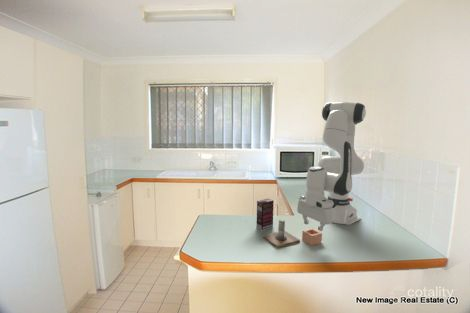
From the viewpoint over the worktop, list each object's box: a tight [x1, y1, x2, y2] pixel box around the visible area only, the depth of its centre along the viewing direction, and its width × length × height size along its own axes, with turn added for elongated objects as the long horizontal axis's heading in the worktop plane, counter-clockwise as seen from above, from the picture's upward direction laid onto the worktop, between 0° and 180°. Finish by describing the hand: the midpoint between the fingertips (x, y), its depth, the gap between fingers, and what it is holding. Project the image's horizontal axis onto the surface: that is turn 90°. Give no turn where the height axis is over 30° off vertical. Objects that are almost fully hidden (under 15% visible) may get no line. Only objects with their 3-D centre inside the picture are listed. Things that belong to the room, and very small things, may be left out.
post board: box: [262, 219, 301, 249], centre depth 135 cm, size 14×12×10 cm
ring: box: [301, 227, 323, 246], centre depth 135 cm, size 7×7×5 cm
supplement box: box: [256, 198, 274, 232], centre depth 149 cm, size 9×5×16 cm, turn 126°
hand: (313, 227), depth 133 cm, fingers open, 8 cm apart
